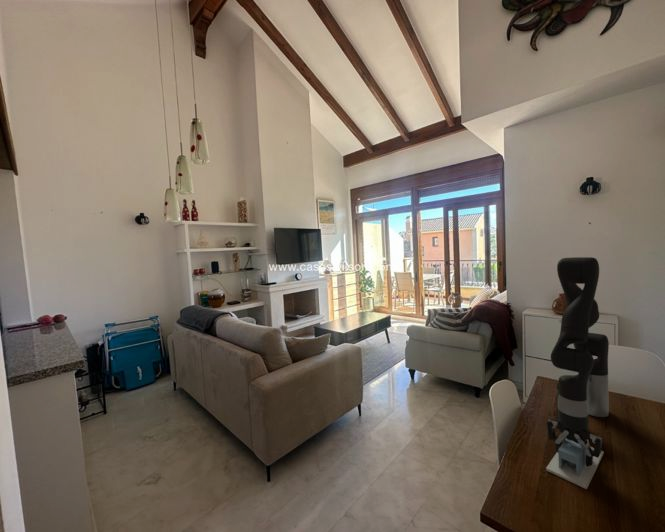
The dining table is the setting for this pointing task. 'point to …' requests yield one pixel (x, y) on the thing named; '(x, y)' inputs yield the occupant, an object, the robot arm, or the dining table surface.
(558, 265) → the robot arm
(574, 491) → the dining table surface
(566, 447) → the block
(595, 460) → the board
